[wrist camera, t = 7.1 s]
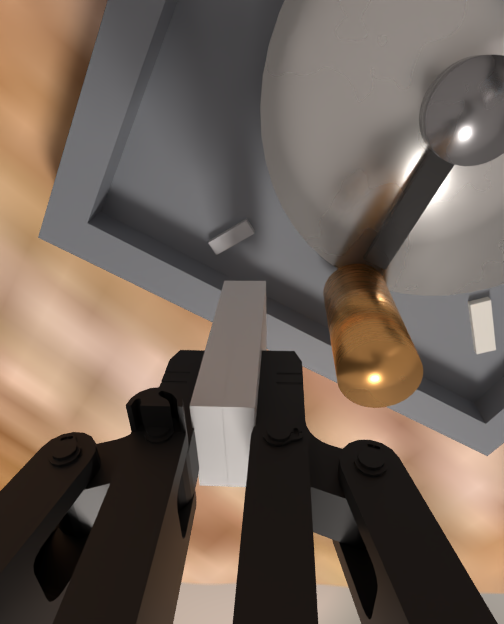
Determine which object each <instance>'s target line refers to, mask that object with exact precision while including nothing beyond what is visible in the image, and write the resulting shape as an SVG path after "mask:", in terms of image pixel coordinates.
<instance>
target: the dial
mask: <svg viewBox="0 0 504 624" xmlns="http://www.w3.org/2000/svg"><path fill="white" fill-rule="evenodd" d="M260 114H261V136H262V142H263V149H264V155H265V161H266V165H267V168H268V171H269V175H270V178H271V182H272V185H273V188H274V190H275V192H276V194H277V197H278V199H279V201H280V203H281V206H282V208H283V210H284V211H285V213H286V214H287V216H288V218H289V219H290V221H291V223H292V224H293V226H294V227H295V229H296V230H297V231H298V232H299V234H300V235H301V236H302V237H303V238H304V240H305V241H306V242H307V243H308V245H309V246H311V247H312V248H313V249H314V250H315V251H316V252H317V253H318V254H319V255H320V256H321V257H322V258H324V259H325V260H326V261H327V262H329V263H330V264H332V265H333V266H335V267H336V268H337V270H336V271H335V272H333V273H332V274H331V275H330V276H329V278H328V279H327V281H326V283H325V286H324V290H323V296H324V303H325V309H326V315H327V321H328V328H329V334H330V340H331V346H332V352H333V358H334V365H335V371H336V377H337V383H338V386H339V388H340V390H341V392H342V393H343V394H344V396H345V397H346V398H348V399H349V400H350V401H352V402H354V403H356V404H358V405H361V406H365V407H372V408H380V407H387V406H391V405H395V404H397V403H400V402H402V401H404V400H405V399H407V398H408V397H409V396H411V395H412V394H413V393H414V392H415V391H416V389H417V388H418V387H419V385H420V383H421V381H422V377H423V365H422V362H421V360H420V357H419V355H418V353H417V351H416V348H415V346H414V344H413V342H412V340H411V337H410V335H409V333H408V331H407V329H406V326H405V324H404V322H403V320H402V318H401V315H400V313H399V311H398V309H397V307H396V304H395V302H394V300H393V298H392V296H391V293H390V291H393V292H398V293H402V294H411V295H421V296H446V295H455V294H463V293H471V292H475V291H479V290H484V289H488V288H492V287H496V286H499V285H502V284H504V0H284V3H283V5H282V7H281V9H280V12H279V15H278V18H277V21H276V24H275V27H274V30H273V33H272V37H271V40H270V43H269V47H268V52H267V57H266V62H265V67H264V72H263V78H262V91H261V103H260Z"/></svg>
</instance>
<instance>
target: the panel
mask: <svg viewBox="0 0 504 624" xmlns="http://www.w3.org/2000/svg"><path fill="white" fill-rule="evenodd" d="M283 3H284V0H108V1H107V5H106V8H105V11H104V15H103V18H102V22H101V25H100V29H99V32H98V35H97V39H96V42H95V46H94V49H93V52H92V56H91V59H90V63H89V66H88V69H87V73H86V76H85V80H84V83H83V86H82V90H81V93H80V97H79V100H78V104H77V107H76V110H75V114H74V117H73V121H72V124H71V127H70V131H69V134H68V138H67V141H66V144H65V148H64V151H63V155H62V158H61V162H60V165H59V168H58V172H57V175H56V179H55V182H54V185H53V189H52V192H51V196H50V199H49V202H48V206H47V209H46V213H45V216H44V220H43V223H42V226H41V230H40V233H39V237H38V238H40V239H42V240H44V241H46V242H49V243H51V244H53V245H55V246H57V247H59V248H61V249H63V250H65V251H67V252H69V253H71V254H73V255H75V256H77V257H79V258H81V259H83V260H86V261H88V262H90V263H92V264H94V265H96V266H98V267H100V268H102V269H104V270H106V271H108V272H110V273H112V274H114V275H116V276H118V277H120V278H123V279H125V280H127V281H129V282H131V283H133V284H135V285H137V286H139V287H141V288H143V289H145V290H147V291H149V292H151V293H153V294H155V295H157V296H159V297H162V298H164V299H166V300H168V301H170V302H172V303H174V304H176V305H178V306H180V307H182V308H184V309H186V310H188V311H190V312H192V313H194V314H196V315H199V316H201V317H203V318H205V319H207V320H209V321H211V322H213V320H214V316H215V313H216V309H217V306H218V302H219V298H220V295H221V291H222V288H223V284H224V281H266V324H267V348H266V349H268V350H270V351H295V352H296V354H297V355H298V357H299V358H300V359H301V361H302V366H303V367H305V368H307V369H309V370H312V371H314V372H316V373H318V374H320V375H322V376H324V377H326V378H328V379H330V380H332V381H334V382H336V383H337V377H336V371H335V365H334V358H333V352H332V346H331V340H330V334H329V328H328V321H327V315H326V309H325V303H324V296H323V290H324V286H325V283H326V281H327V279H328V278H329V276H330V275H331V274H332V273H333V272H335V271H336V270H337V268H336V267H335V266H333V265H332V264H330V263H329V262H327V261H326V260H325V259H324V258H322V257H321V256H320V255H319V254H318V253H317V252H316V251H315V250H314V249H313V248H312V247H311V246H309V245H308V243H307V242H306V241H305V240H304V238H303V237H302V236H301V235H300V234H299V232H298V231H297V230H296V229H295V227H294V226H293V224H292V223H291V221H290V219H289V218H288V216H287V214H286V213H285V211H284V210H283V208H282V206H281V203H280V201H279V199H278V197H277V194H276V192H275V190H274V188H273V185H272V182H271V178H270V175H269V171H268V168H267V165H266V161H265V155H264V149H263V142H262V136H261V114H260V103H261V91H262V78H263V72H264V67H265V62H266V57H267V52H268V47H269V43H270V40H271V37H272V33H273V30H274V27H275V24H276V21H277V18H278V15H279V12H280V9H281V7H282V5H283ZM390 293H391V296H392V298H393V300H394V302H395V304H396V307H397V309H398V311H399V313H400V315H401V318H402V320H403V322H404V324H405V326H406V329H407V331H408V333H409V335H410V337H411V340H412V342H413V344H414V346H415V348H416V351H417V353H418V355H419V357H420V360H421V362H422V365H423V377H422V381H421V383H420V385H419V387H418V388H417V389H416V391H415V392H414V393H413V394H412V395H411V396H409V397H408V398H407V399H405V400H404V401H402V402H400V403H397V404H395V405H391V406H387V407H388V408H390V409H392V410H394V411H396V412H398V413H400V414H402V415H404V416H406V417H408V418H410V419H412V420H414V421H416V422H418V423H420V424H423V425H425V426H427V427H429V428H431V429H433V430H435V431H437V432H439V433H441V434H443V435H445V436H447V437H449V438H451V439H453V440H455V441H457V442H459V443H462V444H464V445H466V446H468V447H470V448H472V449H474V450H476V451H478V452H480V453H482V454H484V455H486V456H488V455H489V454H491V453H492V452H493V451H494V450H496V449H497V448H498V447H499V446H500V445H502V444H503V443H504V284H502V285H499V286H496V287H492V288H488V289H484V290H479V291H475V292H471V293H463V294H455V295H446V296H421V295H411V294H402V293H398V292H393V291H390Z"/></svg>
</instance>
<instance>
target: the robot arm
mask: <svg viewBox="0 0 504 624" xmlns="http://www.w3.org/2000/svg"><path fill="white" fill-rule="evenodd" d="M266 348H267V324H266V281H224V284H223V288H222V291H221V295H220V298H219V302H218V306H217V309H216V313H215V316H214V320H213V323H212V327H211V331H210V334H209V338H208V341H207V345H206V349H205V351H197V350H180V351H179V352H178V353H177V354H176V355H175V356H173V357H172V358H171V359H170V361H169V363H168V366H167V368H166V371H165V374H164V376H163V379H162V383H161V384H160V386H159V387H158V388H150V389H147V390H144V391H141V392H139V393H138V394H136V395H135V396H133V397H132V398H131V399H130V400H129V402H128V403H127V404H126V409H127V413H128V418H129V422H130V426H131V431H132V432H131V434H130V435H128V436H126V437H123V438H120V439H117V440H113V441H108V442H104V443H99V444H96V443H95V441H94V440H93V438H92V437H91V436H89V435H87V434H85V433H79V432H72V433H67V434H63V435H60V436H58V437H56V438H54V439H52V440H50V441H49V442H48V443H47V444H45V445H44V446H43V447H42V448H41V449H40V450H39V451H38V452H37V453H36V454H35V455H34V456H33V457H32V458H31V459H30V460H29V461H28V463H27V464H26V465H25V466H24V467H23V468H22V469H21V470H20V471H19V472H18V473H17V474H16V475H15V476H14V477H13V478H12V479H11V481H10V482H9V483H8V484H7V485H6V486H5V487H4V488H3V489H2V490H1V491H0V624H173V621H174V615H175V611H176V605H177V600H178V595H179V590H180V585H181V580H182V575H183V570H184V565H185V560H186V555H187V550H188V545H189V540H190V535H191V530H192V525H193V519H194V514H195V509H196V492H195V487H196V482H197V478H198V475H199V482H200V485H204V486H230V487H246V491H245V502H244V512H243V522H242V533H241V543H240V554H239V564H238V574H237V585H236V595H235V606H234V616H233V624H318V612H317V594H316V576H315V558H314V540H313V532H314V533H317V534H320V535H322V536H325V537H328V538H330V539H333V544H334V546H335V549H336V552H337V555H338V558H339V561H340V564H341V567H342V569H343V572H344V575H345V578H346V581H347V584H348V587H349V589H350V592H351V595H352V598H353V601H354V603H355V607H356V609H357V612H358V615H359V618H360V621H361V624H498V623H497V622H496V620H495V619H494V617H493V615H492V614H491V612H490V610H489V608H488V607H487V605H486V603H485V602H484V600H483V598H482V597H481V595H480V593H479V591H478V590H477V588H476V586H475V585H474V583H473V581H472V580H471V578H470V576H469V575H468V573H467V571H466V570H465V568H464V566H463V564H462V563H461V561H460V559H459V558H458V556H457V554H456V553H455V551H454V549H453V548H452V546H451V544H450V543H449V541H448V539H447V538H446V536H445V534H444V532H443V531H442V529H441V527H440V526H439V524H438V522H437V521H436V519H435V517H434V516H433V514H432V512H431V511H430V509H429V507H428V505H427V504H426V502H425V500H424V499H423V497H422V495H421V494H420V492H419V490H418V489H417V487H416V485H415V484H414V482H413V480H412V478H411V477H410V475H409V473H408V472H407V470H406V468H405V467H404V465H403V463H402V462H401V460H400V458H399V457H398V456H397V455H396V454H395V452H394V451H393V450H392V449H390V448H389V447H387V446H385V445H384V444H382V443H379V442H376V441H372V440H357V441H354V442H351V443H349V444H348V445H347V446H345V447H344V448H343V449H341V448H338V447H334V446H331V445H328V444H326V443H323V442H321V441H320V440H318V439H317V438H315V437H314V436H313V435H312V434H311V433H310V431H309V430H308V428H307V426H306V422H305V409H304V391H303V372H302V361H301V359H300V358H299V357H298V355H297V354H296V352H295V351H266Z"/></svg>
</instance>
